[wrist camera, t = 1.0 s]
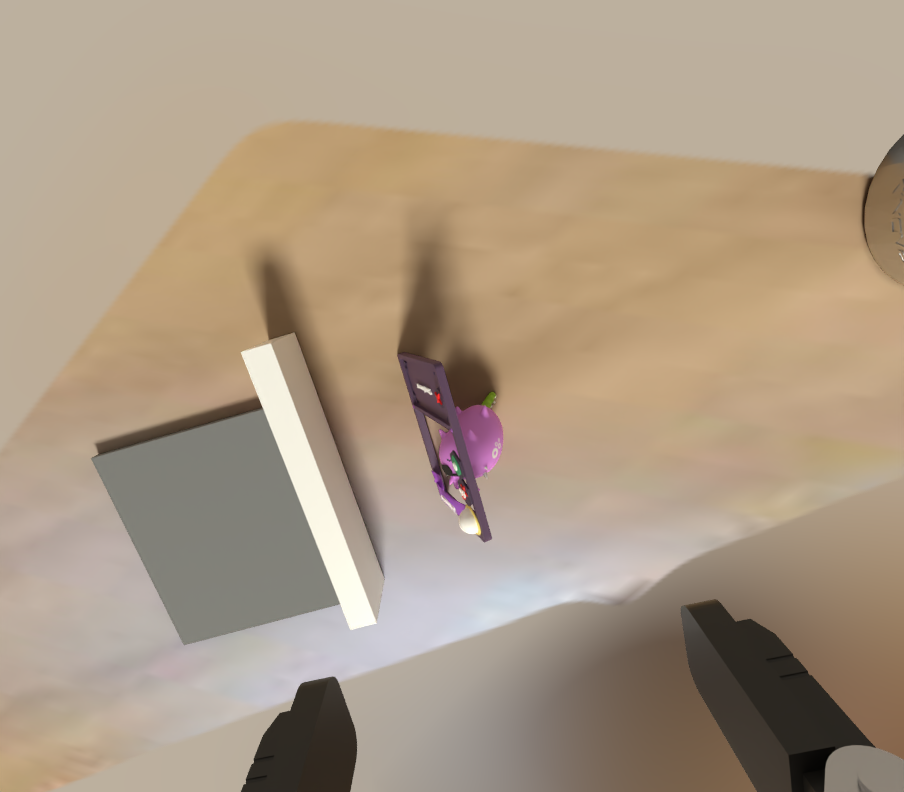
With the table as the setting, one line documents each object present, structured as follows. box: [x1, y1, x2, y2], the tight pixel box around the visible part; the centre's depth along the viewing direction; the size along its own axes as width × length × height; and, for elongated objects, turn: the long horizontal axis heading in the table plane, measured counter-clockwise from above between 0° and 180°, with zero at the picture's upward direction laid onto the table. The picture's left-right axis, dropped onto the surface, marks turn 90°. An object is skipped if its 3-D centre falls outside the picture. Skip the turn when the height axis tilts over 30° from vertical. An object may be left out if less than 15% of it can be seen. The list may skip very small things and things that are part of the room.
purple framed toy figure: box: [397, 352, 503, 542], centre depth 27 cm, size 7×5×9 cm
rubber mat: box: [91, 408, 340, 645], centre depth 30 cm, size 11×13×1 cm
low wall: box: [241, 332, 385, 630], centre depth 28 cm, size 2×16×4 cm, turn 16°
